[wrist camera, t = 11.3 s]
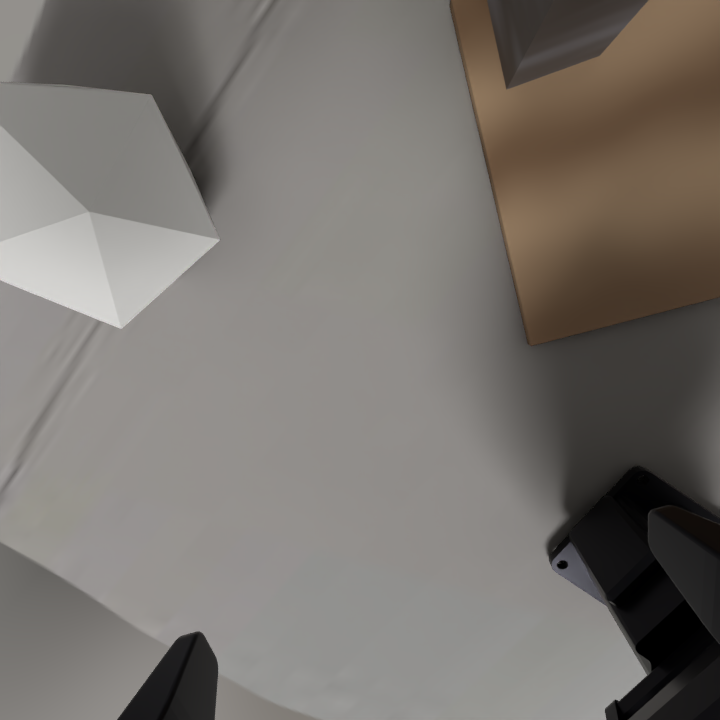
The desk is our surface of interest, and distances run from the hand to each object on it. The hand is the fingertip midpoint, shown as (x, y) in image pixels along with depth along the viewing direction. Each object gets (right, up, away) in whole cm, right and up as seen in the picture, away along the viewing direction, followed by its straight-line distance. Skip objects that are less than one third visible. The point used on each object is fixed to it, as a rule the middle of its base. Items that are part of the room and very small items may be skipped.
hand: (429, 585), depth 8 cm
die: (-11, +11, +12) cm, 20 cm away
